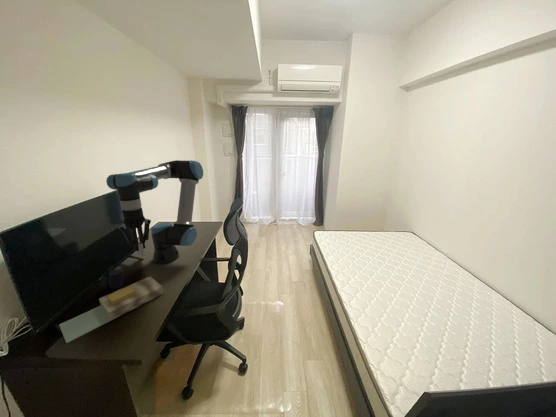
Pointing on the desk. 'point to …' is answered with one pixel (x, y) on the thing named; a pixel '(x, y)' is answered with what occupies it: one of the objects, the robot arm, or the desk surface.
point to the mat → (84, 323)
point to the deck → (132, 298)
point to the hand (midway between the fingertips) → (141, 255)
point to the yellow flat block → (121, 295)
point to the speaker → (114, 278)
